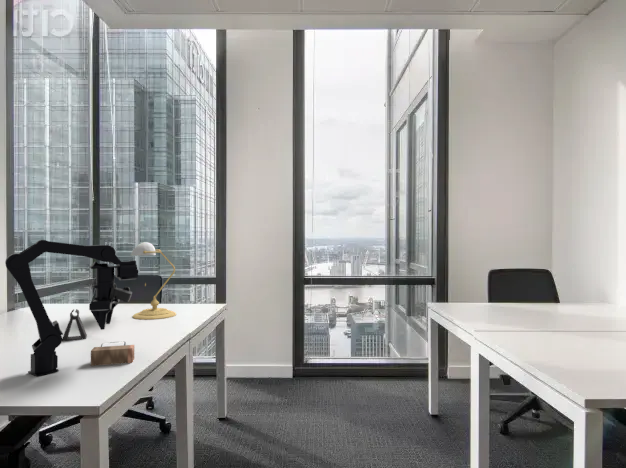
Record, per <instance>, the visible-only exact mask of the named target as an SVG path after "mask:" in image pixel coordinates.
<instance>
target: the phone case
mask: <svg viewBox="0 0 626 468" xmlns="http://www.w3.org/2000/svg"><path fill="white" fill-rule="evenodd" d="M122 345H127V344H126V341H113V342H112V341H111V342H103V343H101V345H100V347H106V346H122Z"/></svg>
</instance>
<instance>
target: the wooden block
mask: <svg viewBox="0 0 626 468" xmlns="http://www.w3.org/2000/svg"><path fill="white" fill-rule="evenodd" d="M133 360H135V344H126V345H122V346H106V347H101V346H95V347H93V348H92V349H91V350H90V366H92V367H95V366H106V365H119V364H121V363H122V364H133V363H132V362H134V361H133ZM122 364H121V365H122Z"/></svg>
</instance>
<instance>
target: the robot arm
mask: <svg viewBox="0 0 626 468" xmlns="http://www.w3.org/2000/svg"><path fill="white" fill-rule="evenodd" d="M44 253H52V254H61V255H70V256H78V257H79V256H80V257H85V258H89V259H93V260H96V261H93V262H92V264H91V265H89V266H88V267H89V269H90V270H95V285H94V289H95V297H94V300H93V301H91V302H89V305H88V306H89V308H88V310H89V311H90V313H91V314H92V315H93V317H94V319H95V321H96V323H97V326H98V327H99V328H100V330H105V329H106V325H110V324H111V321H112V316H113V312H114V309H115V307H116V306H117V305H118V304H119V302H120V301H122V302H124V303H129V302H131V301H130V300H131V297H132V296H133V295H132V294H133V291H131V288H130V286H125V287H124V288H120V287H117V284H116V283H115V278H117V279H118V280H119V281H130V280H138V277H139V269H138V265H137V261H136V260H133V259H132V260H128V261H127V260H125V261H121V259H120V258H119V257H118V256H117V254H116V249H115V248H114V246H111V245H108V244H91V245H90V244H89V245H84V244H83V245H82V244H81V245H80V244H75V243H66V242H65V243H64V242H57V241H49V240H45V239H40V240H37V241H36V242H35V243H34V244H32V245H31V246H29V247H27V248H26V249H24V250H22V251H21V252H19V253H17V252H16V253H11V254H9V255H8V256H7V257H6V258H5V262H4V263H5V267H6V269H7V270H8V272H9V273H10V275H11V276H12V278H13V279H14V280H15V281H16V282H17V284H18V285H19V288H20V290H21V292H22V293H23V296H24V298H25V300H26V303H27V305H28V307H29V309H30V312H31V314H32V316H33V319H34V320H35V323H36V328H37V332H38V339H36V340H35V342H34V343H33V344H32V345H31V348H32V352H33V353H31V354H30V370H29V371H27V373H28V374H29V375H33V376H34V377H35V376H36V377H39V376H44V375H48V374H52V373H57V372H59V369H58V367H59V366H58V365H59V364H58V362H59V361H58V360H59V359H58V358H59V355H57V351H56V349H57V348H58V347H60V345H61V344H62V342H63V341H62V338H63V336H64V332H63V331H62V330H61V329H60V324H59V322H58V321H57V320H54V321H52V320H51V319H50V317H49V315H48V313H47V310H46V308H45V306H44V304H43V302H42V299H41V298H40V295H39V293H38V291H37V288H36V286H35V284H34V281H33V279H32V274H31V269H30V263H31V262H33V261H34V260H36V259H37V258H39V257H40V256H41V255H43V254H44ZM97 261H100V262H103V263H98V262H97ZM108 263H109V264H112V265H108Z"/></svg>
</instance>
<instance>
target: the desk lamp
mask: <svg viewBox="0 0 626 468" xmlns="http://www.w3.org/2000/svg"><path fill="white" fill-rule="evenodd" d="M157 254H161V255H162V257H164V258H165V260H166V261H167V262H168V263H169V264H170V265H171V266H172V268H173V270H172V273H171V274H170V276H169V277H168V278H167V279H166V280H165V282H164V283H163V284H162V286H161V287H160V288H159V289H158V291H157V292H156V293H155V295H154V296H153V299H152V300H151V301H150V306H152V308H151V307H150V308H145V309H142V310H141V311H139V312H137V313H134V314H133V315H132V319H135V320H142V321H144V320H145V321H147V320H149V321H150V320H165V319H169V318H173V317H175V316H176V315H177V313H176V312H175V311H172V310H169V309H168V308H164V307H158V306H159V304H160V302H159V301H158V300H157V297H158V294H160V292H161V291H162V289H163V288H164V287H165V286H166V284H167V283H168V282H169V280H170V279H171V278H172V277H173V275H174V274H175V272H176V267H175V265H174V263H172V262H171V261H170V259H168V257H167V256H166V255H165V254H164V253H163V252H162V250H161V249H157V248H155V246H154V244H152V243H151V242H147V241H144V242H141V243H139V244H137V245H136V246H135V247H134V248H133V250H132V251H131V253H130V255H129V256H131V257H132V256H133V257H134V256H135V257H137V256H138V257H140V256H141V257H142V256H143V257H144V256H145V257H148V256H156V255H157ZM146 286H147V283H144V287H146Z"/></svg>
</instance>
